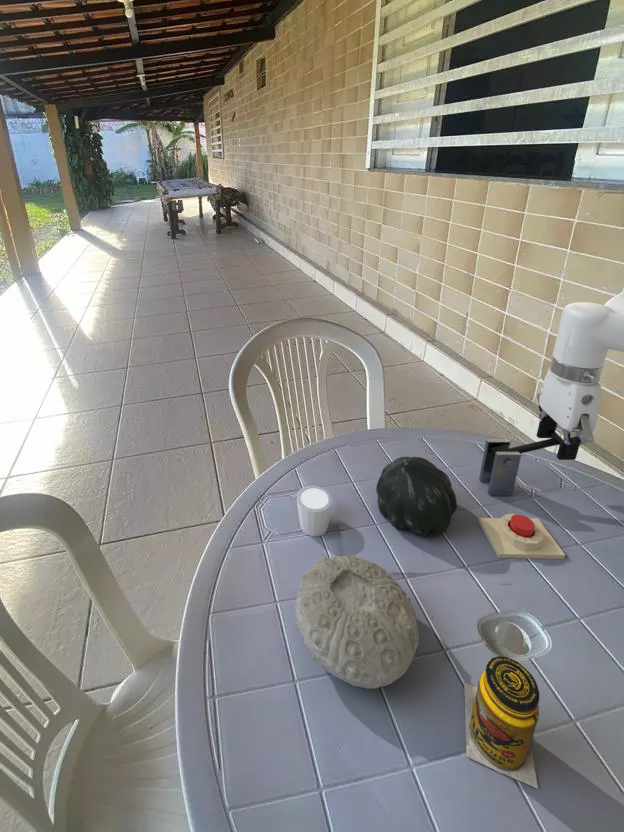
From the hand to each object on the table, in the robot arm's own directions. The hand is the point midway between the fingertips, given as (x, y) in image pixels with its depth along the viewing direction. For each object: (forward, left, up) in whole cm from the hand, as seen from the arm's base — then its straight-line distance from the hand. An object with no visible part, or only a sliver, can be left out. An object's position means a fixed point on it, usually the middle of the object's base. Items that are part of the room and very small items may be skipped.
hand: (555, 447), depth 85 cm
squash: (+29, +7, -12) cm, 32 cm away
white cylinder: (+49, +9, -12) cm, 51 cm away
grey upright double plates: (+10, 0, -12) cm, 15 cm away
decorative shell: (+45, +30, -12) cm, 55 cm away
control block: (+12, +13, -12) cm, 21 cm away
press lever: (+5, 0, -1) cm, 5 cm away
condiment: (+29, +41, -12) cm, 52 cm away
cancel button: (+12, +13, -8) cm, 19 cm away
